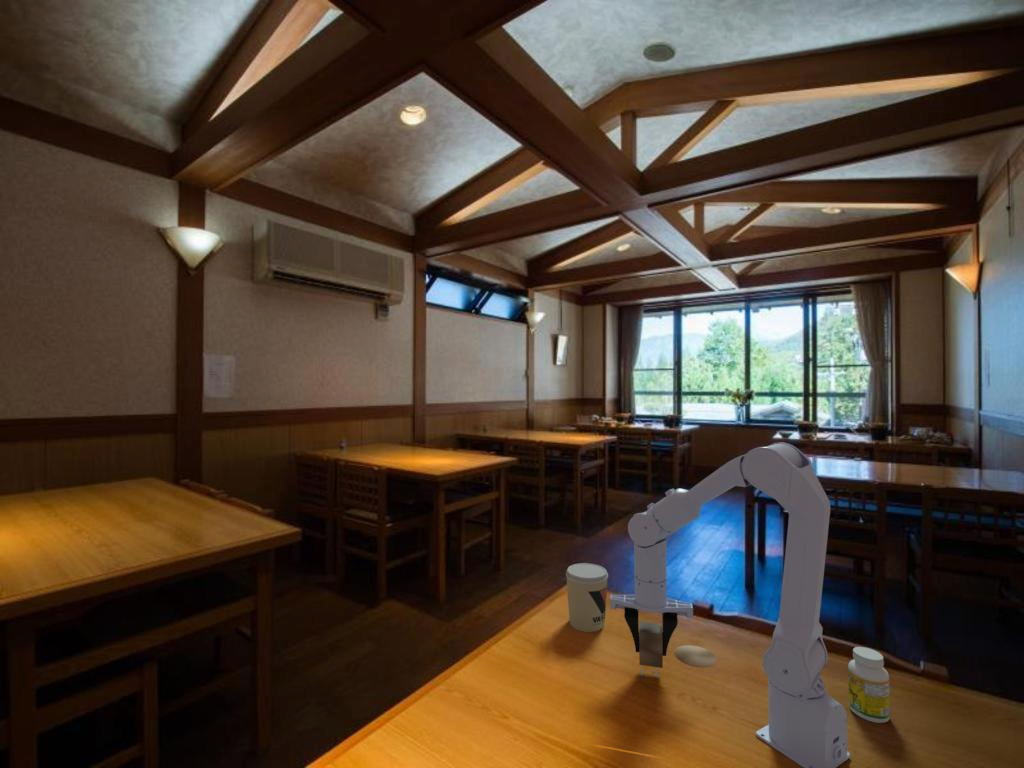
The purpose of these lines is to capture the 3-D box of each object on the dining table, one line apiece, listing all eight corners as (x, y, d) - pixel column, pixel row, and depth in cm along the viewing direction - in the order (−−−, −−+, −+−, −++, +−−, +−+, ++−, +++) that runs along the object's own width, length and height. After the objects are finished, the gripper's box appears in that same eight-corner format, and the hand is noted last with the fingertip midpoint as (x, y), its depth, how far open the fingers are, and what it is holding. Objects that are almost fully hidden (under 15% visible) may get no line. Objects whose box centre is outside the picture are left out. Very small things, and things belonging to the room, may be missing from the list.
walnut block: (661, 656, 89) (661, 623, 89) (662, 668, 85) (662, 634, 86) (639, 653, 90) (639, 621, 90) (639, 664, 87) (639, 631, 87)
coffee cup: (598, 639, 101) (598, 581, 101) (558, 627, 106) (558, 572, 106) (614, 620, 108) (614, 567, 109) (577, 610, 114) (576, 559, 114)
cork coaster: (724, 660, 92) (724, 659, 92) (698, 672, 89) (698, 671, 89) (692, 642, 99) (692, 641, 99) (666, 652, 95) (666, 651, 95)
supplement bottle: (895, 727, 74) (894, 665, 74) (853, 719, 76) (853, 658, 76) (882, 706, 79) (882, 648, 79) (844, 698, 81) (844, 641, 81)
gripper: (690, 572, 90) (690, 645, 90) (611, 565, 94) (611, 635, 94) (694, 587, 83) (694, 666, 83) (609, 579, 87) (609, 654, 87)
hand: (650, 651), depth 88 cm, fingers closed on walnut block, 4 cm apart
